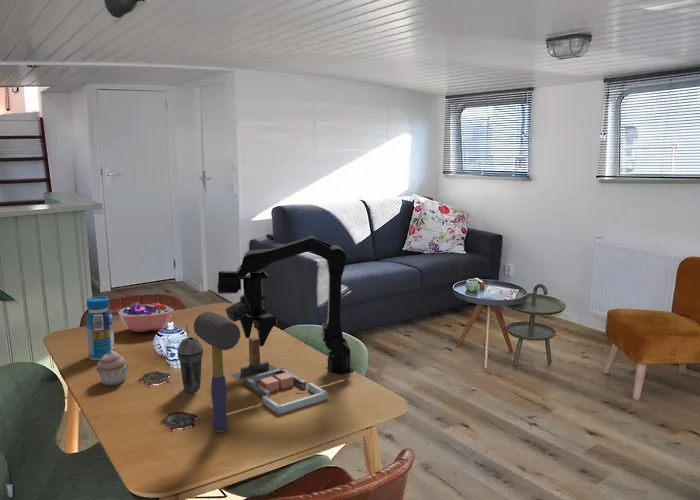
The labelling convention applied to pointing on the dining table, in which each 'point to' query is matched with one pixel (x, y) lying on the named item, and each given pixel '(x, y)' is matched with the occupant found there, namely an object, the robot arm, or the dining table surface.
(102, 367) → the cupcake
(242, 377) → the mat
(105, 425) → the dining table surface
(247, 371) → the t-shaped scraper
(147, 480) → the dining table surface
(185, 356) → the beverage cup
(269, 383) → the dusty rose cube
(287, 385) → the salmon pink cube
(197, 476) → the dining table surface
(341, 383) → the dining table surface
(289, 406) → the tray
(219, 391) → the rubber mallet
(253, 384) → the slot channel
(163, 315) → the cell model
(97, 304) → the beverage bottle
